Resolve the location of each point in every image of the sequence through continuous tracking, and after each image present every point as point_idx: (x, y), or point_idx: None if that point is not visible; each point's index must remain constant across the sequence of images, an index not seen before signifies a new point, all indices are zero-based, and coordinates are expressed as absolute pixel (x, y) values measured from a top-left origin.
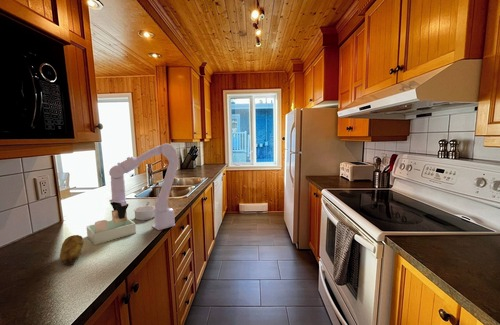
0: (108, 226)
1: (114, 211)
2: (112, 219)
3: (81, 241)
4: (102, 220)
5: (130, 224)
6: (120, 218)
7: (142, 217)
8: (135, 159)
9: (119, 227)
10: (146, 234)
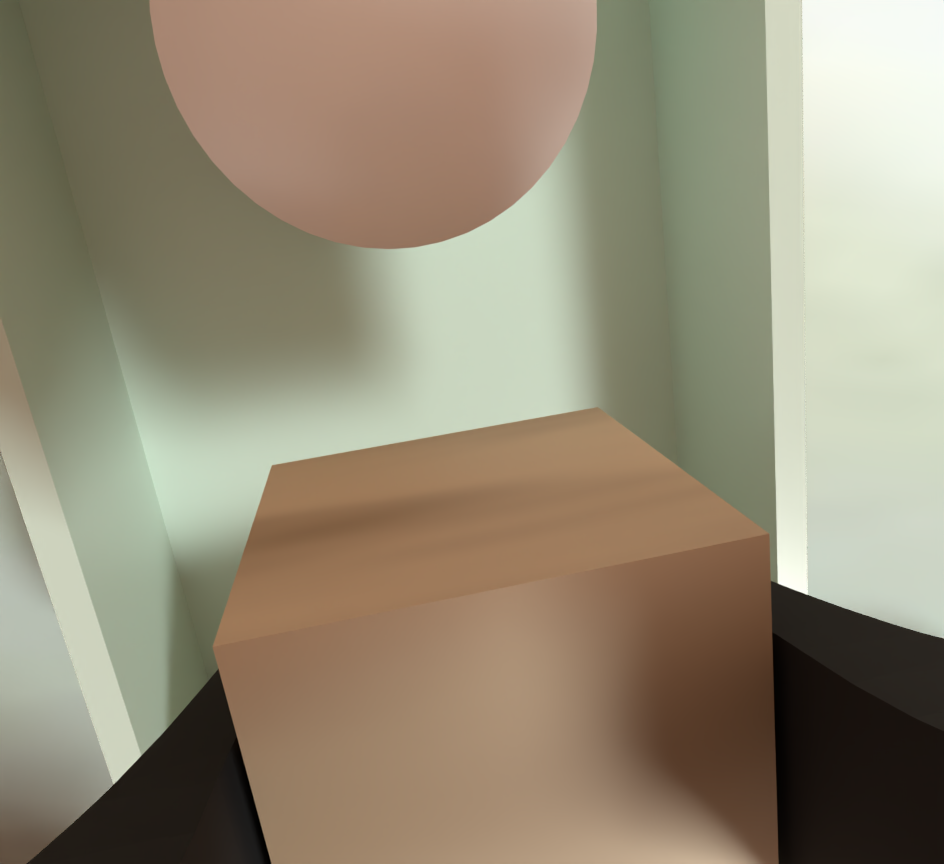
0: (704, 287)
1: (548, 641)
2: (592, 420)
3: None
4: (554, 99)
5: (121, 763)
6: None
7: None
8: None
9: (30, 510)
10: (14, 840)
